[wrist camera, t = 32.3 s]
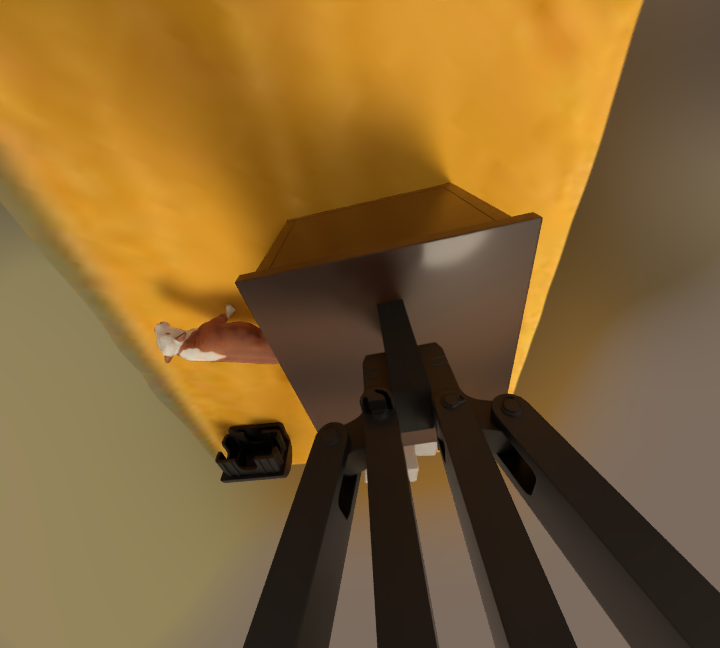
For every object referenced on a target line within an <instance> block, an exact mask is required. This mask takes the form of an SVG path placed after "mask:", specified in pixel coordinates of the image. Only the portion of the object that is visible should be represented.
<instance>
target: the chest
mask: <svg viewBox="0 0 720 648" xmlns="http://www.w3.org/2000/svg"><path fill="white" fill-rule="evenodd" d="M509 217H511V216H509V215H508V214H506V213H504V212H502V211H501V210H499V209H497V208H495V207H493V206H492V205H490V204H488V203H486V202H485V201H483V200H481V199H479V198H477V197H476V196H474V195H472V194H470V193H468V192H467V191H465V190H463V189H461V188H460V187H458V186H456V185H454V184H452V183H447V184H443V185H439V186H434V187H430V188H426V189H421V190H417V191H413V192H408V193H404V194H399V195H395V196H391V197H386V198H382V199H378V200H373V201H369V202H365V203H360V204H356V205H351V206H347V207H343V208H338V209H334V210H330V211H325V212H321V213H317V214H312V215H308V216H303V217H299V218H295V219H290V220H287V222H286V224H285V225H284V227H283V228H282V230H281V232H280V233H279V235H278V236H277V238H276V240H275V241H274V243H273V245H272V246H271V248H270V249H269V251H268V253H267V254H266V256H265V257H264V259H263V261H262V262H261V264H260V266H259V267H258V269H257V270H256V272H257V271H262V270H266V269H271V268H276V267H280V266H285V265H290V264H294V263H299V262H304V261H308V260H313V259H318V258H322V257H327V256H332V255H336V254H341V253H346V252H350V251H355V250H360V249H364V248H369V247H374V246H378V245H383V244H388V243H392V242H397V241H402V240H406V239H411V238H416V237H420V236H425V235H430V234H434V233H439V232H444V231H448V230H453V229H458V228H462V227H467V226H472V225H476V224H481V223H486V222H490V221H495V220H500V219H504V218H509Z"/></svg>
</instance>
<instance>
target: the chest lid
mask: <svg viewBox="0 0 720 648" xmlns="http://www.w3.org/2000/svg"><path fill="white" fill-rule="evenodd" d="M541 224H542V217H541V216H539V215H537V214H536V213H534V212H532V213H528V214H523V215H518V216H514V217H509V218H504V219H500V220H495V221H490V222H486V223H481V224H476V225H472V226H467V227H462V228H458V229H453V230H448V231H444V232H439V233H434V234H430V235H425V236H420V237H416V238H411V239H406V240H402V241H397V242H392V243H388V244H383V245H378V246H374V247H369V248H364V249H360V250H355V251H350V252H346V253H341V254H336V255H332V256H327V257H322V258H318V259H313V260H308V261H304V262H299V263H294V264H290V265H285V266H280V267H276V268H271V269H266V270H262V271H257V272H252V273H248V274H243V275H240V276H239V277H238V279H237V280H236V282H235V284H236V286H237V288H238V289H239V291H240V293H241V295H242V297H243V299H244V300H245V302H246V304H247V306H248V308H249V309H250V311H251V313H252V315H253V317H254V318H255V320H256V322H257V324H258V326H259V327H260V329H261V331H262V333H263V335H264V336H265V338H266V340H267V342H268V344H269V345H270V347H271V349H272V351H273V353H274V354H275V356H276V358H277V360H278V362H279V363H280V365H281V367H282V369H283V371H284V372H285V374H286V376H287V378H288V380H289V381H290V383H291V385H292V387H293V389H294V390H295V392H296V394H297V396H298V398H299V399H300V401H301V403H302V405H303V407H304V408H305V410H306V412H307V414H308V416H309V417H310V419H311V421H312V423H313V425H314V426H315V428H316V430H317V432H318V431H319V429H321V428H322V427H323V426H324V425H326V424H328V423H330V422H339V423H342V424H343V425H345V424H347V423H349V422H351V421H353V420H354V419H356V418H357V417H358V416H360V415H361V413H362V409H361V406H360V403H359V402H360V397H361V396H362V394H363V393H364V382H363V366H362V363H363V361H364V358H365V356H366V355H371V354H376V353H382V352H385V350H384V344H383V338H382V332H381V326H380V320H379V314H378V308H377V304H380V303H385V302H390V301H395V300H401V299H403V302H404V305H405V308H406V311H407V314H408V318H409V321H410V324H411V327H412V330H413V333H414V336H415V340H416V343H417V345H423V344H428V343H434V342H436V343H437V344H438V345H439V346H440V347H442V348H443V350H444V353H445V355H446V358H447V360H448V362H449V364H450V367H451V369H452V371H453V374H454V376H455V378H456V381H457V383H458V385H459V387H460V389H461V391H463V392H464V393H465V394H466V395H468V396H469V397H472V398H474V399H479V400H488V401H493V399H494V398H495V397H497V396H498V395H501V394H508V389H509V384H510V379H511V374H512V369H513V364H514V359H515V354H516V349H517V344H518V339H519V334H520V329H521V324H522V319H523V314H524V309H525V304H526V299H527V294H528V289H529V284H530V279H531V274H532V269H533V264H534V259H535V254H536V249H537V244H538V239H539V234H540V229H541ZM401 437H402V442H403V447H404V446H410V445H417V444H424V443H430V442H437V433H436V430H435V427H434V428H432V429H426V430H419V431H413V432H406V433H401Z"/></svg>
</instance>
